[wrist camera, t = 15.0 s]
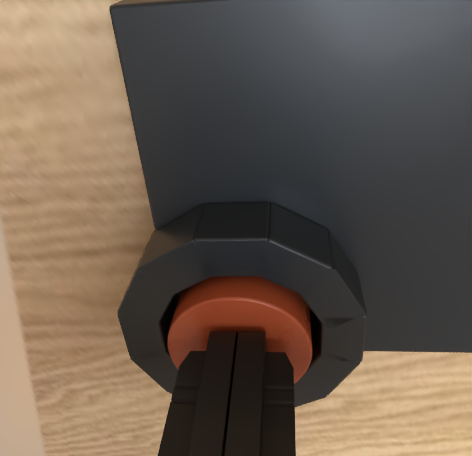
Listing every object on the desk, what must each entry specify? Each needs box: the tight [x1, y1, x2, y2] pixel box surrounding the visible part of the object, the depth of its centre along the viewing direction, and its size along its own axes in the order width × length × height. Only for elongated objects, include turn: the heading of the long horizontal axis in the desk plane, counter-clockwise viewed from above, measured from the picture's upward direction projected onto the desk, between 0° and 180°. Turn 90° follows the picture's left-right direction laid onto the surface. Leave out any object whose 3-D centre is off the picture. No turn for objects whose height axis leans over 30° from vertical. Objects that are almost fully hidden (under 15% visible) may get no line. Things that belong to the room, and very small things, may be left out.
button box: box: [110, 0, 472, 407], centre depth 13 cm, size 12×12×4 cm
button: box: [167, 276, 313, 384], centre depth 13 cm, size 4×4×2 cm
